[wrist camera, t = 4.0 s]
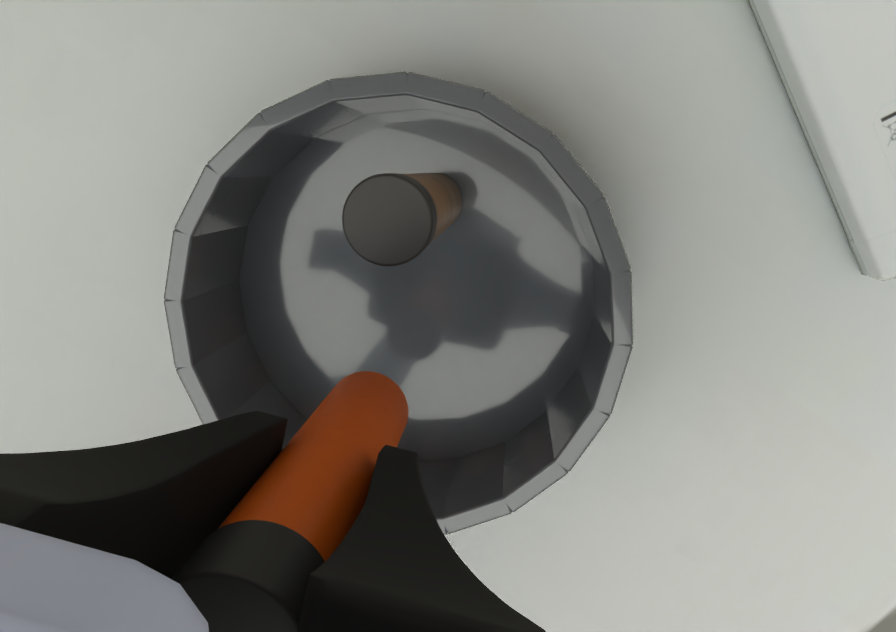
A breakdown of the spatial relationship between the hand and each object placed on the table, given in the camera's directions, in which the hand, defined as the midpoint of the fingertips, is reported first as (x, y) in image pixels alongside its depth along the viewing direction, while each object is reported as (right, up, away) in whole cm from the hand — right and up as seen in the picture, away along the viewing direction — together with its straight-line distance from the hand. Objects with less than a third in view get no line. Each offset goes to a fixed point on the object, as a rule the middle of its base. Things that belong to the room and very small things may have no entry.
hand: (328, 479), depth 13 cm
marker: (0, +1, +4) cm, 4 cm away
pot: (+1, +4, +7) cm, 8 cm away
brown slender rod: (+2, +6, +6) cm, 9 cm away
